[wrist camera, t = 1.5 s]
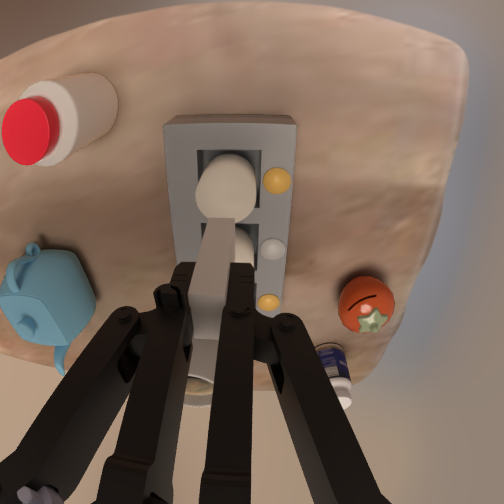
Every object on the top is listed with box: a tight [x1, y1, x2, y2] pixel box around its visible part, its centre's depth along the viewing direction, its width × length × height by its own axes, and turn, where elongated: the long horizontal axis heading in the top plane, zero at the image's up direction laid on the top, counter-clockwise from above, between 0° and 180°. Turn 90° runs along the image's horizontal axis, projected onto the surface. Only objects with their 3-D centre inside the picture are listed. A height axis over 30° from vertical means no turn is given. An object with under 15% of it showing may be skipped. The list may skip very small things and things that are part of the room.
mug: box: [183, 332, 219, 407], centre depth 41 cm, size 11×10×10 cm
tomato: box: [338, 276, 395, 333], centre depth 36 cm, size 7×7×8 cm
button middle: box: [235, 227, 254, 267], centre depth 29 cm, size 5×5×4 cm
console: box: [163, 114, 297, 318], centre depth 32 cm, size 11×24×5 cm, turn 179°
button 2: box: [195, 153, 256, 223], centre depth 25 cm, size 5×5×4 cm
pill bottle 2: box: [315, 343, 352, 410], centre depth 43 cm, size 6×6×10 cm
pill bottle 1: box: [2, 73, 118, 167], centre depth 22 cm, size 8×8×11 cm
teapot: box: [0, 243, 96, 376], centre depth 35 cm, size 12×18×12 cm
